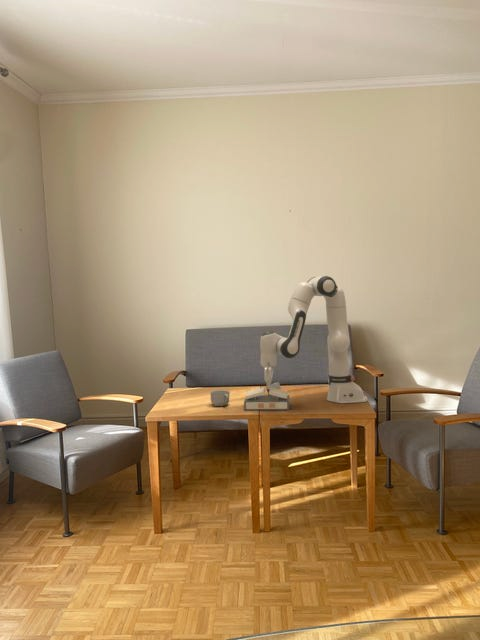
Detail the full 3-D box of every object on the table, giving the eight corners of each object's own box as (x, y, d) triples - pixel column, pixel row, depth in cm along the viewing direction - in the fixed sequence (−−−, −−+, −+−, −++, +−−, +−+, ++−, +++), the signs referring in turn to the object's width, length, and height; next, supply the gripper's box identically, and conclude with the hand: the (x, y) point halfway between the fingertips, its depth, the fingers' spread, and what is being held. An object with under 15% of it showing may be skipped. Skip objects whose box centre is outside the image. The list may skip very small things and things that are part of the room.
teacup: (208, 404, 312) (207, 390, 312) (226, 402, 316) (225, 388, 315) (216, 409, 299) (215, 395, 298) (234, 407, 303) (234, 393, 302)
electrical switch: (274, 400, 315) (272, 384, 315) (266, 400, 318) (265, 384, 318) (283, 397, 322) (281, 381, 322) (276, 397, 326) (274, 381, 325)
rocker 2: (287, 394, 304) (287, 391, 304) (286, 398, 294) (287, 395, 293) (269, 389, 305) (270, 387, 305) (268, 394, 294) (269, 391, 294)
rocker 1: (265, 389, 306) (264, 387, 305) (264, 394, 295) (263, 391, 295) (248, 394, 307) (247, 391, 307) (246, 399, 296) (245, 396, 296)
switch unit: (289, 403, 306) (289, 391, 306) (289, 410, 292) (288, 397, 291) (246, 404, 309) (246, 392, 308) (244, 410, 295) (243, 398, 294)
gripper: (273, 365, 288) (273, 391, 289) (275, 358, 308) (275, 383, 309) (261, 365, 288) (261, 391, 290) (264, 358, 309) (264, 383, 310)
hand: (269, 386), depth 300 cm, fingers open, 8 cm apart
